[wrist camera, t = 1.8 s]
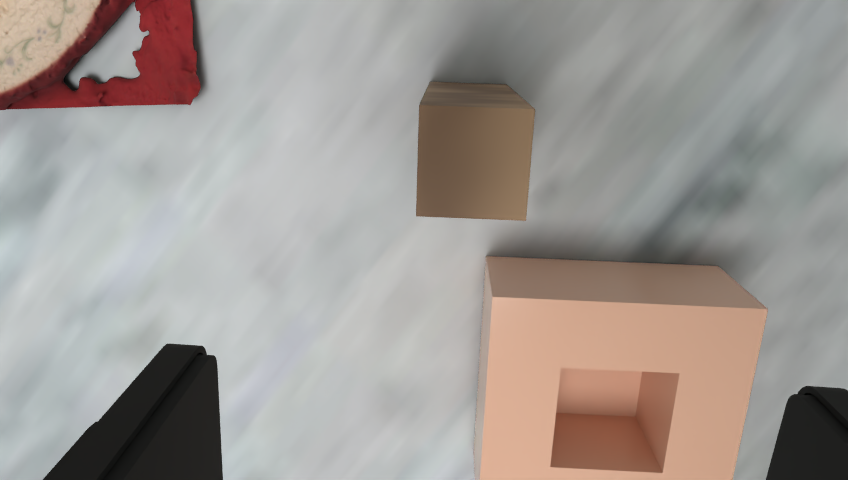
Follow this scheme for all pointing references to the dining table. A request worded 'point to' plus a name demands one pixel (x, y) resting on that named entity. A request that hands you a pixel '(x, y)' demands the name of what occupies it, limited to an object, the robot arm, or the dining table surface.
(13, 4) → the plate with food
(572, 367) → the pink planter box
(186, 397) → the robot arm
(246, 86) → the dining table surface
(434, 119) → the walnut peg
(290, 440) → the dining table surface
